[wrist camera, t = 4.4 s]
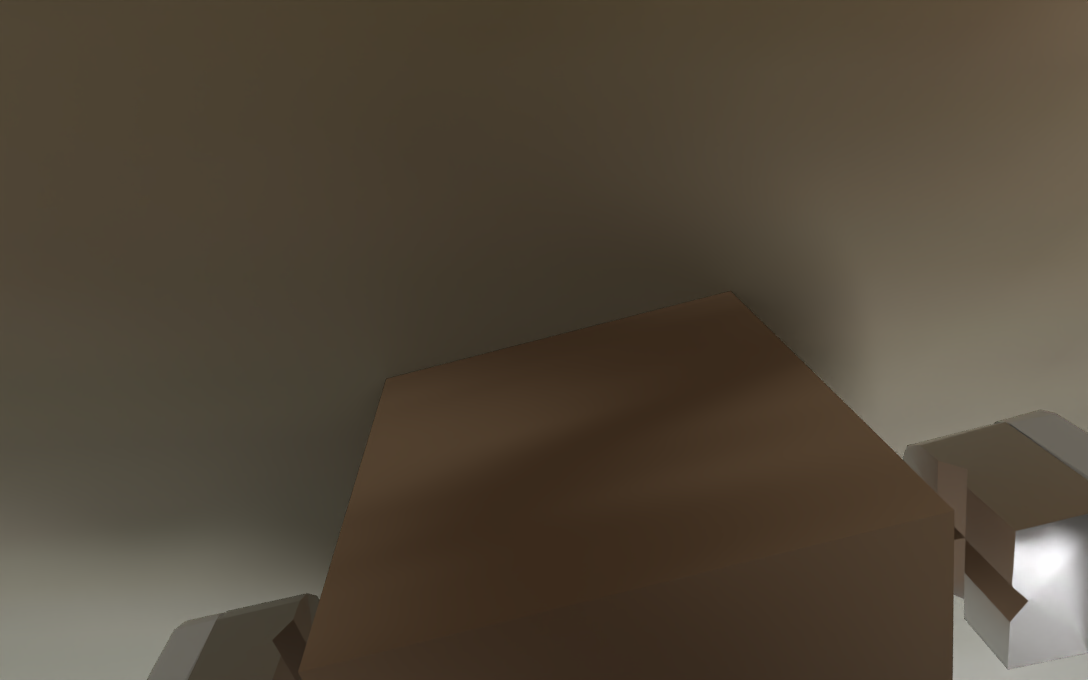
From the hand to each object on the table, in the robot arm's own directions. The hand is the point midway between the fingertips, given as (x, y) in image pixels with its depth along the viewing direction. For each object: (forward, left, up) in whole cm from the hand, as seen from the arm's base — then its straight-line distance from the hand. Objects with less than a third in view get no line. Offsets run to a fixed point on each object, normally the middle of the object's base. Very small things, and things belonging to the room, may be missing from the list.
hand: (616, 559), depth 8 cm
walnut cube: (0, 0, -2) cm, 2 cm away
